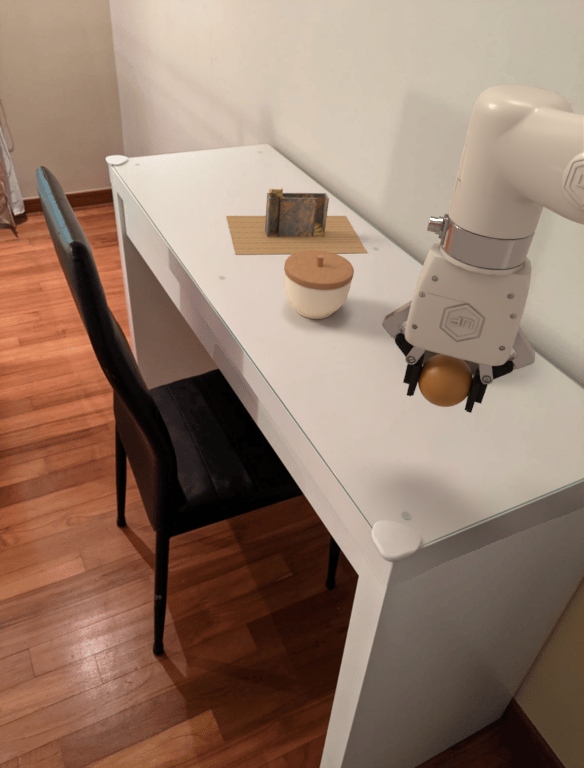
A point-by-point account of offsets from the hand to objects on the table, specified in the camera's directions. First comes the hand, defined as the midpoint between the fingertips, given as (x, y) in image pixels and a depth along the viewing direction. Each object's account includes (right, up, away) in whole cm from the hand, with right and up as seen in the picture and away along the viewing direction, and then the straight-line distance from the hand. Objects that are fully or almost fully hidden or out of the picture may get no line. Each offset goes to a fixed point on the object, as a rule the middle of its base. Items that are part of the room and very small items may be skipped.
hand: (440, 395), depth 65 cm
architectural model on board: (-15, +30, +54) cm, 64 cm away
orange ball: (0, -1, 0) cm, 1 cm away
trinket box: (-12, +13, +33) cm, 38 cm away
